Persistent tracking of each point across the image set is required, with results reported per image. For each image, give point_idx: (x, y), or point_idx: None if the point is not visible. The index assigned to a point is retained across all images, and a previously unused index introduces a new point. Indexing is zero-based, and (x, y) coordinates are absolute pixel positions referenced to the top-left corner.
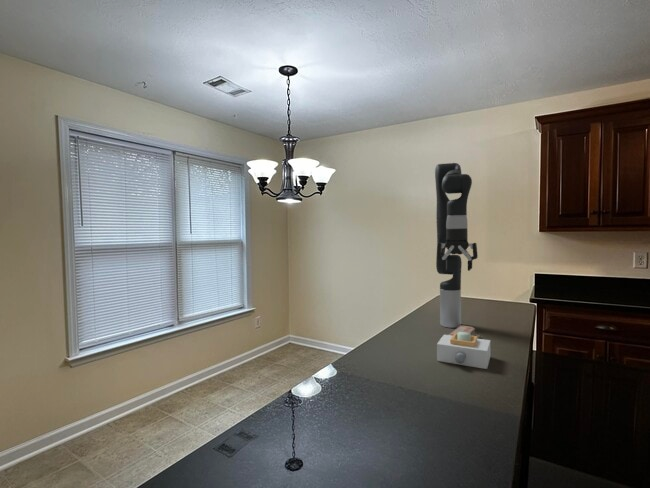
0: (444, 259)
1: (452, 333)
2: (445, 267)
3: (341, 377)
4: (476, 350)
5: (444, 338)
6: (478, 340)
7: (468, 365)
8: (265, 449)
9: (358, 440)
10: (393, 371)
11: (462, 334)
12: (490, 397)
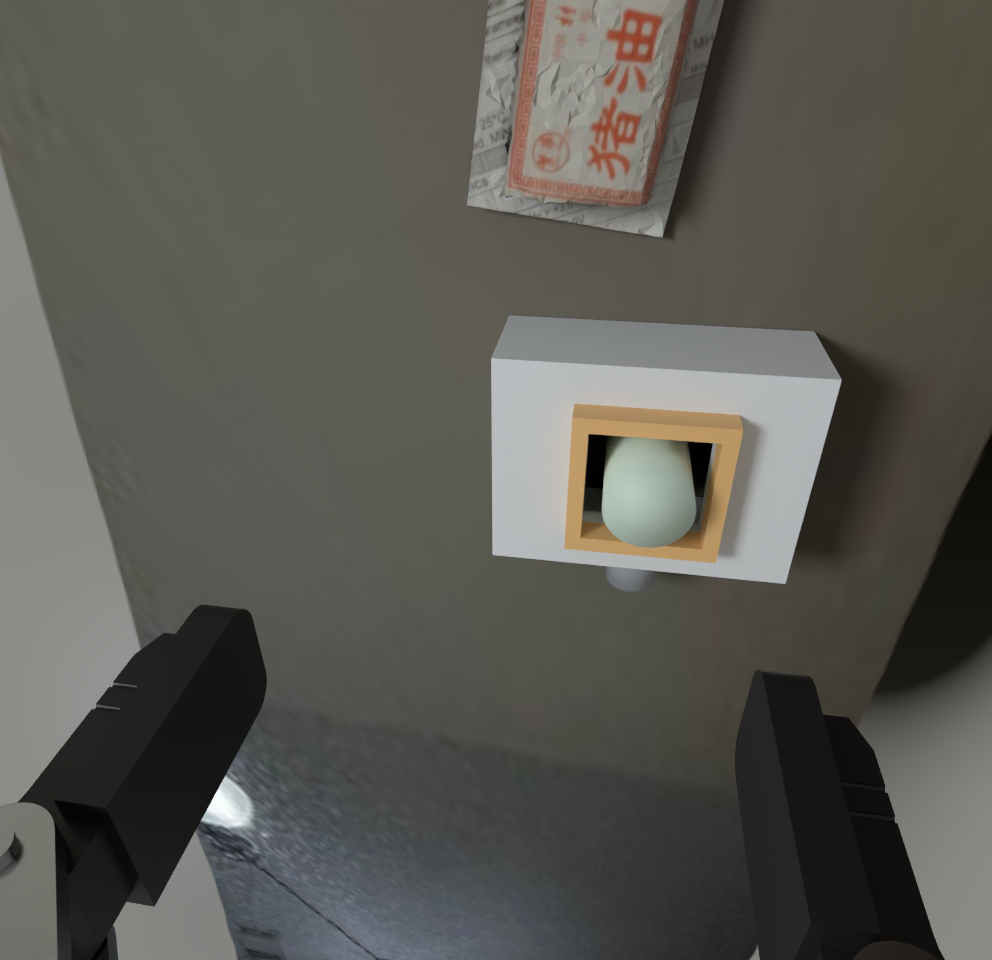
0: (105, 931)
1: (533, 164)
2: (238, 737)
3: None
4: (723, 573)
5: (513, 446)
6: (748, 413)
7: None
8: (320, 951)
9: (454, 921)
10: (370, 648)
11: (638, 526)
12: None
